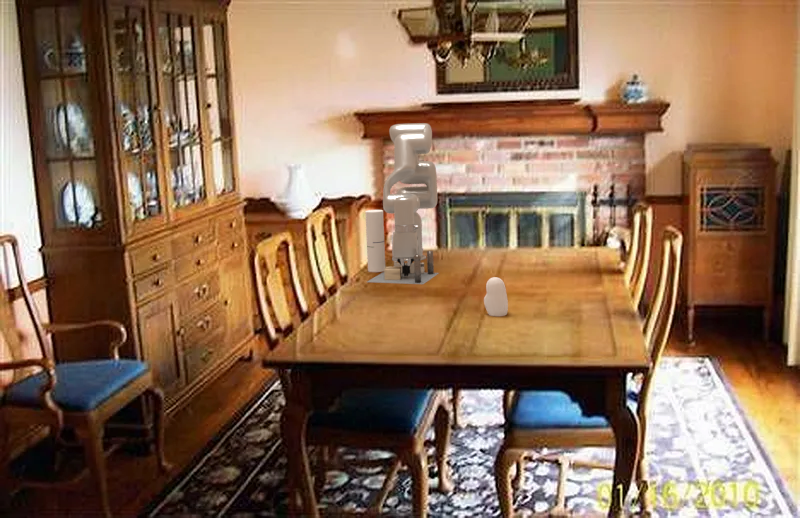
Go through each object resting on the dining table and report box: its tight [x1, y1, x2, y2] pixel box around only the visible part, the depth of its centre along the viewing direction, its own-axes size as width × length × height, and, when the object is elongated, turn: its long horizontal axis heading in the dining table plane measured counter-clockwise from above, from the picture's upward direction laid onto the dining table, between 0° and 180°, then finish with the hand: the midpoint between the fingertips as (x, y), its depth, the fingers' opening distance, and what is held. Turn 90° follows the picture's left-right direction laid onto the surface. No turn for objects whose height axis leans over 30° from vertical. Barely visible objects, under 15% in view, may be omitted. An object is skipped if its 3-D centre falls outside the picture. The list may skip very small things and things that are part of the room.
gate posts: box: [413, 250, 435, 283], centre depth 355 cm, size 19×3×11 cm, turn 161°
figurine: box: [483, 276, 509, 317], centre depth 299 cm, size 7×8×12 cm
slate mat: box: [366, 271, 440, 285], centre depth 359 cm, size 21×23×1 cm
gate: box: [393, 261, 425, 273], centre depth 365 cm, size 12×2×5 cm, turn 81°
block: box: [383, 266, 401, 280], centre depth 358 cm, size 6×6×4 cm
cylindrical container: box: [364, 209, 386, 273], centre depth 372 cm, size 7×7×25 cm
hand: (406, 275), depth 358 cm, fingers closed
